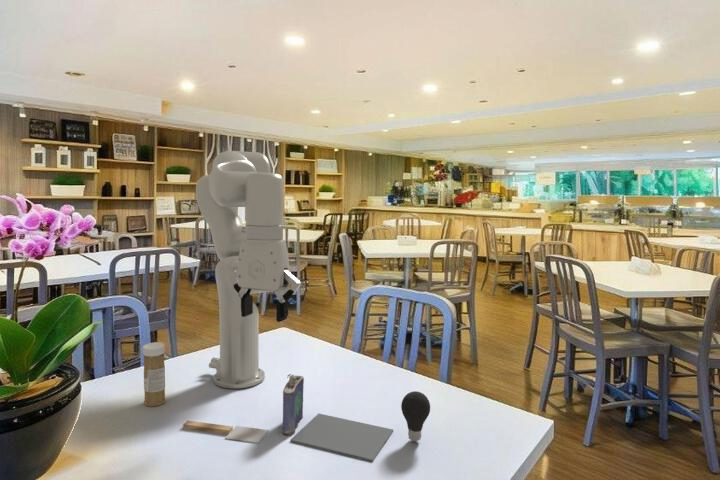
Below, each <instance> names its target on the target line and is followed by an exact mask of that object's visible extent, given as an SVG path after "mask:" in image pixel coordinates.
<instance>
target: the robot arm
mask: <svg viewBox="0 0 720 480" xmlns="http://www.w3.org/2000/svg"><path fill="white" fill-rule="evenodd" d="M195 197H196V199H195V200H196V202H197V206H198V209H199V212H200V213H201V215H202V217H203V219H204V220H205V222H206V223H207V225H208V226H209V229H210V234H211V237H212V242H213V247H214V250H215V253H216V255H217V257H218V259H219V261H218V263H217V264H216V266H215V270H214V271H215V273H214V275H215V282H216V288H217V294H218V295H217V297H218V304H219V305H218V309H219V317H218V318H219V357H215V356H213V357H212V358H211V359H210V362H209V364H208V367H209V368H210V369H215V370H216V372H215V374H214V375H213V383H214V385H215V386H216V385H217V386H218V387H220V388H224V389H229V390H231V389H232V390H233V389H235V390H237V389H246V388H251V387H255V386H256V385H259V384H260V383H262V382H263V381H264V380H265V377H266V376H265V371H264V370H263V369H262V368H260V367H259V366H260V365H259V363H260V362H259V360H260V359H259V348H260V347H259V344H260V343H259V341H260V340H259V339H260V338H259V337H260V336H259V335H260V334H259V330H260V328H259V326H260V325H259V310H258V309H259V308H258V307H257V305H256V303H254V298H253V294H257V293H258V294H259V293H260V294H261V293H272V292H274V293H275V296H276V298H277V299H278V302H276V316H275V317H276V321H277V323H281V322H283V321H285V320H287V319H288V317H289V301H290V300H291V299H292V298H293V297H294V296H295V295H296V293H297V291H298V290H299V288H300V287H301V286H302V283H301V281H300V280H299V279H298V278H297V277H296V276H295V275H293V274H292V273H291V272H290V260H289V252H288V251H289V250H288V246H287V242H286V240H284V179H283V176H282V175H281V174H279V173H275V172H274V173H273V172H271V164H270V162H269V159H268V158H267V156H266V155H265V154H264V153H262V152H258V151H257V152H256V151H255V152H254V151H239V150H227V151H222V152H220V153H219V154H217V155H216V156H215V157H214V159H213V161H212V170H211V171H210V174H206V175H203V176H201V177H200V178H199V179H198V180H197V182H196V185H195ZM232 208H245V226H243V222H242V220H241V217H240V216H239V215H238V213H237V212H235V210H233V209H232ZM288 286H289V287H290V288H289V289H288V288H287V287H288Z"/></svg>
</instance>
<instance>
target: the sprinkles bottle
mask: <svg viewBox="0 0 720 480" xmlns="http://www.w3.org/2000/svg"><path fill="white" fill-rule="evenodd" d="M165 352H166V345H165V343H164V342H158V341H157V342H149V343H146V344H144V345H142V356H143V390H144V401H143V403H144V405H145V406H147V407H158V406H161V405H163V404H165V403H166V393H165V392H166V391H165V390H166V366H165Z"/></svg>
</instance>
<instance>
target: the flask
mask: <svg viewBox="0 0 720 480" xmlns="http://www.w3.org/2000/svg"><path fill="white" fill-rule="evenodd" d="M286 378H287V379H288V378H289V380H288V381H287V382H286V383H285V386H284V388H283V391H282V430H281V431H282V434H283V435H284V436H289V437H291V436H292V435H294V434H296V433H295V432H296V429H297V428H298V427H299V424H300V423H301V421H302V419H303V418H304V415H303V413H304V410H303V409H304V385H305V379H304V376H302V375H294V374H291V373H289V374H288V375H287V376H286Z"/></svg>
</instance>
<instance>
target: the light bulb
mask: <svg viewBox="0 0 720 480" xmlns="http://www.w3.org/2000/svg"><path fill="white" fill-rule="evenodd" d="M400 407H401V412H402V415H403V417H404V419H405V421H406V424H407V428H408V432H407V434H408V439H409V440H410V441H411V442H412V443H418V441H420V440H421V438H422V430H423V428H424V427H423V426H424V424H425V422H426V420H427V419H428V417H429V414H430V412H431V403H430V401H429V399H428V397H427V395H425V394H424V393H422V392H420V391H410V392H408V393H407V394H406V395H405V396H404V397H403V399H402V401H401V405H400Z"/></svg>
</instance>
